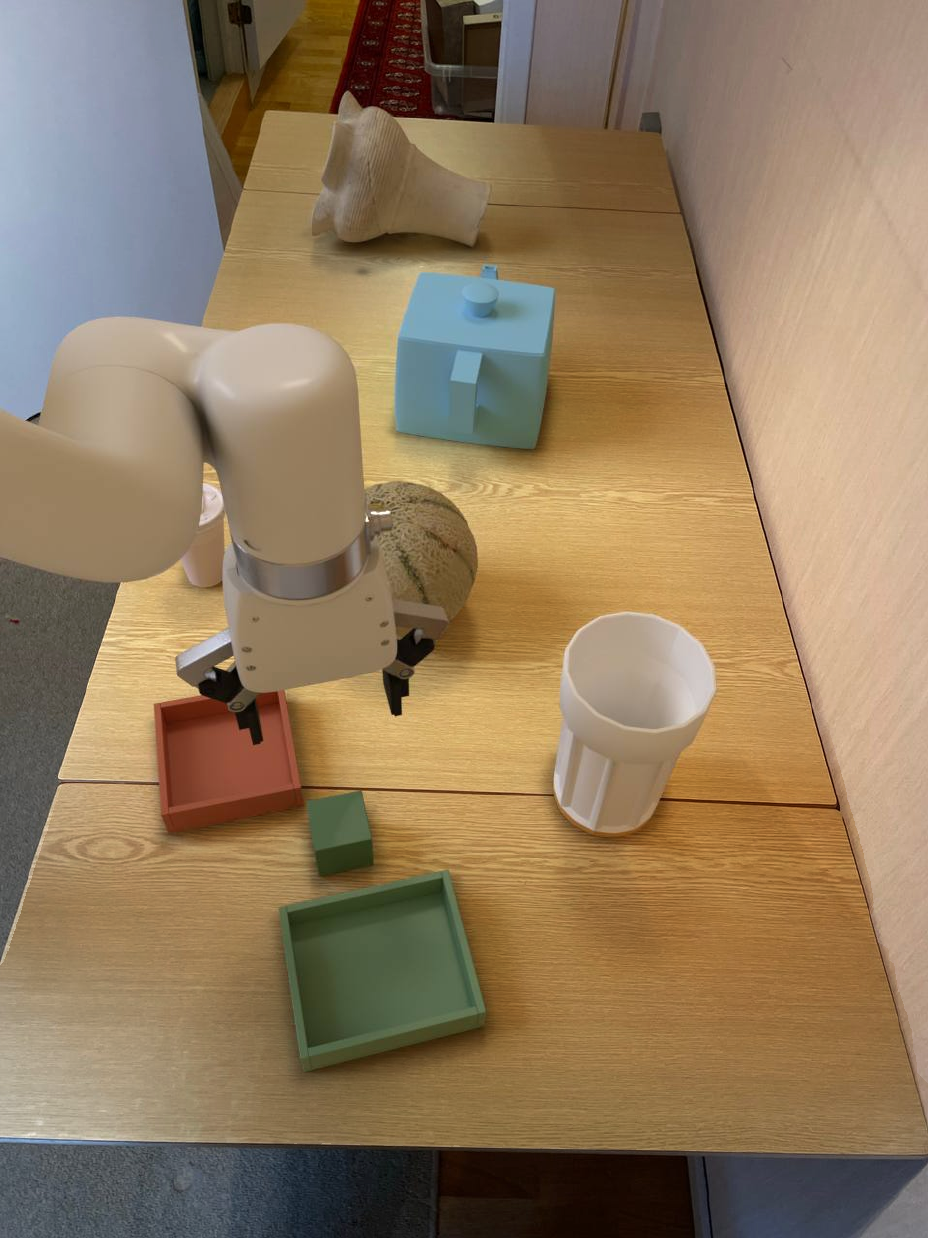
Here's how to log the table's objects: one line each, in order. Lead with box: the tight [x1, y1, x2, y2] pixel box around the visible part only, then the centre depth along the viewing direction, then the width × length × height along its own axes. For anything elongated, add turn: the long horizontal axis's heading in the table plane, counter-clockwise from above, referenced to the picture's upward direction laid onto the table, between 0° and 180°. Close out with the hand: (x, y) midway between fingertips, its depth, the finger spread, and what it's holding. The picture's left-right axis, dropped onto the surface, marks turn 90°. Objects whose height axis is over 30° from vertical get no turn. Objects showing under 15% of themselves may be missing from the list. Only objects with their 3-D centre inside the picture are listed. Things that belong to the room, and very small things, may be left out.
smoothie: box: [179, 482, 226, 588], centre depth 94 cm, size 6×6×14 cm
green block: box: [305, 789, 375, 878], centre depth 79 cm, size 4×4×4 cm
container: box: [394, 263, 556, 450], centre depth 114 cm, size 17×25×15 cm
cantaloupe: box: [364, 480, 479, 637], centre depth 92 cm, size 15×15×15 cm
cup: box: [552, 610, 718, 838], centre depth 78 cm, size 11×11×17 cm
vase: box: [310, 90, 492, 248], centre depth 137 cm, size 22×22×28 cm
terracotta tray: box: [153, 690, 305, 834], centre depth 84 cm, size 11×11×3 cm
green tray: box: [278, 869, 487, 1073], centre depth 73 cm, size 13×11×3 cm
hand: (325, 713), depth 68 cm, fingers open, 9 cm apart
